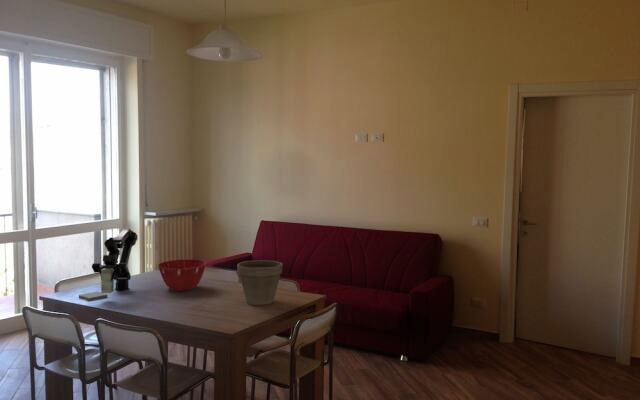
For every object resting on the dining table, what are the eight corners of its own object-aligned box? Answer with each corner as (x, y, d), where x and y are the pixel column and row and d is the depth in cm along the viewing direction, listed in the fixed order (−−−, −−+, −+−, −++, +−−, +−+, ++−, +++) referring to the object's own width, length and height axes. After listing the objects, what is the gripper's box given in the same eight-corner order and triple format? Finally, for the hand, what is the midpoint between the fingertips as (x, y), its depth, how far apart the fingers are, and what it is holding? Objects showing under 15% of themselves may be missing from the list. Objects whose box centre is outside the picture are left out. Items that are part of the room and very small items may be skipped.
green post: (104, 290, 309) (104, 267, 308) (113, 290, 309) (113, 268, 308) (101, 292, 304) (101, 269, 303) (110, 293, 304) (110, 269, 303)
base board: (97, 294, 321) (96, 291, 320) (107, 297, 314) (107, 294, 314) (78, 297, 312) (78, 295, 312) (89, 301, 305) (89, 298, 305)
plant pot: (254, 294, 322) (254, 257, 320) (290, 299, 310) (290, 261, 309) (228, 304, 300) (228, 265, 298) (266, 310, 288) (266, 269, 287)
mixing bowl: (183, 296, 317) (183, 269, 316) (148, 290, 331) (147, 264, 330) (215, 286, 341) (215, 262, 340) (181, 281, 355) (181, 257, 354)
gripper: (92, 249, 309) (85, 272, 298) (126, 249, 309) (120, 272, 299) (98, 260, 317) (91, 283, 307) (130, 260, 318) (125, 283, 307)
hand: (106, 280), depth 305 cm, fingers closed on green post, 5 cm apart
